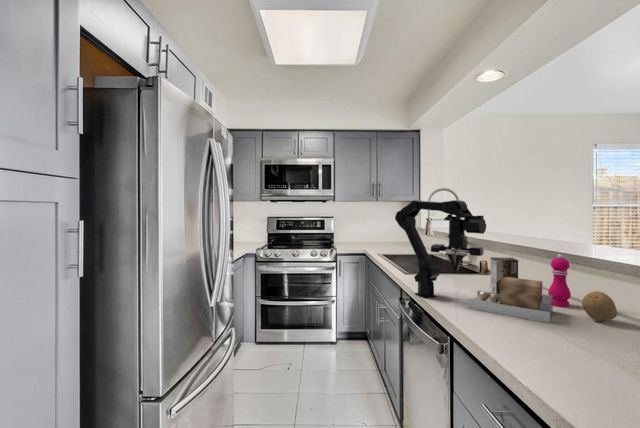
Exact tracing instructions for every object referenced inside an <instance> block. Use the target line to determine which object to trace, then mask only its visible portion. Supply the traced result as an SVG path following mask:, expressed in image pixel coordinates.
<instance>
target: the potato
mask: <svg viewBox="0 0 640 428" xmlns="http://www.w3.org/2000/svg"><path fill="white" fill-rule="evenodd" d="M581 305H582V308H583V310H584V312H586V314H587V315H588V316H589V317H590V319H592V320H593V321H595V322H599V323H603V322H605V321H610V320H613V319H615V318H616V317H617V316H618V311H617V307H616V305H615V302H614V301H613V299H612V298H611V297H610V296H609V295H608V294H606V293H605V292H604V291H603V292H602V291H597V290H596V291H594V290H593V291H591V292H589V293H587V294H586V295H584V297H583V298H582V300H581Z"/></svg>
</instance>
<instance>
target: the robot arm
mask: <svg viewBox="0 0 640 428" xmlns="http://www.w3.org/2000/svg"><path fill="white" fill-rule="evenodd" d="M421 210H426V211H437V212H442V213H444V214H447V216H445V217H444V218H443V220H444V221H449V222H448V235H447V237H448V245H447V246H445V244H443V243H441V244H440V243H435V244H432V245H431V246H430V252H431V253H440V251H441V252H445V254H444V255H445V256H447V258H448V259H449V262H450V263H451V265H452V268H453V271H454V272H456V273H457V272H458V270H459V269H460V266H461V263H462V261H463V259H464V258H465V257H468V254H469V255H470V256H476V257H481V256H483V255H484V251H485V250H484V247H482V246H471V247H468V245H469V241H468V240H467V239H466V234H465V233H468V234H482V235H484V234H485V232H486V230H487V223H486V220H485V217H484V215H473V213H471V211H470V209H468V204H467V202H465V201H464V200H454V199H453V200H446V201H428V200H421V199H413V200H411V202H410V203H408V204H407V205H406V206H404V207H402V208H401V209H400V210H398V211H397V212H396V213H395V216H394V219H395V221H396V223H397V225H399V227H400V228H401V229H402V230H403V231H404V232H405V234H406V237H407V239H408V241H409V243H410V245H411V247H412V249H413V252H414V254H415V255H416V257H417V261H418V262H417V263H418V265H417V266H418V269H417V270H418V273H417V274H415V276H414V277H413V278H414V281H415V282H417V292H414V295H416V296H419V297H421V298H425V299H426V298H431V297H432V298H434V297H437V294H436V293H435V286H434V284H435V283H434V282H436V281H437V279H438V277H439V276H440V273H441V269H440V268H441V266H440V265H439V263H438V261H437V258H431V256H430V255H429V253H428V251H427V248H426V246H425V244H424V242H423V240H422V237H421V235H420V234H419V231H418V230H417V227H416V225H417V223H416V222H417V220H416V217H417V216H418V215H419V213H420V211H421Z"/></svg>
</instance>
